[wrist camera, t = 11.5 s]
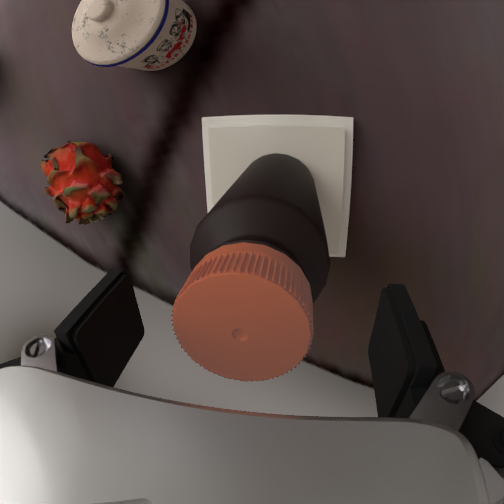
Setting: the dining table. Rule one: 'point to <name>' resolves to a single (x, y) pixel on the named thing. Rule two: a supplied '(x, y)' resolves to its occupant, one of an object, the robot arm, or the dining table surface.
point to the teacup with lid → (133, 32)
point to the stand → (291, 143)
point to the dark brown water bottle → (255, 274)
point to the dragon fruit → (82, 182)
